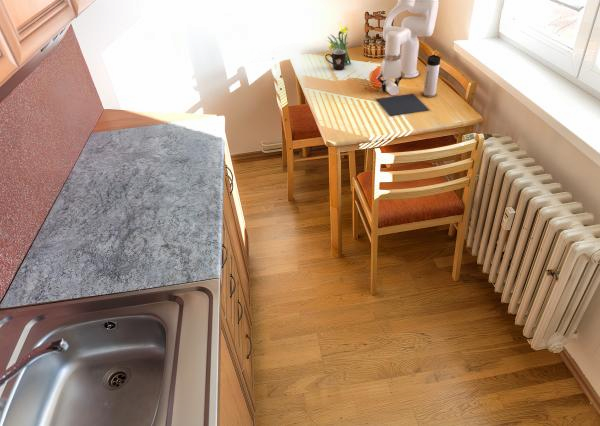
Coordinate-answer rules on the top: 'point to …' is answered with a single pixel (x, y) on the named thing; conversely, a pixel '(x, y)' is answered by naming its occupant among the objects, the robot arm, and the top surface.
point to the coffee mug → (338, 59)
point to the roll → (391, 87)
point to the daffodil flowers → (342, 44)
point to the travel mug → (431, 76)
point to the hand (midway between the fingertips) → (389, 89)
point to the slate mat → (402, 104)
